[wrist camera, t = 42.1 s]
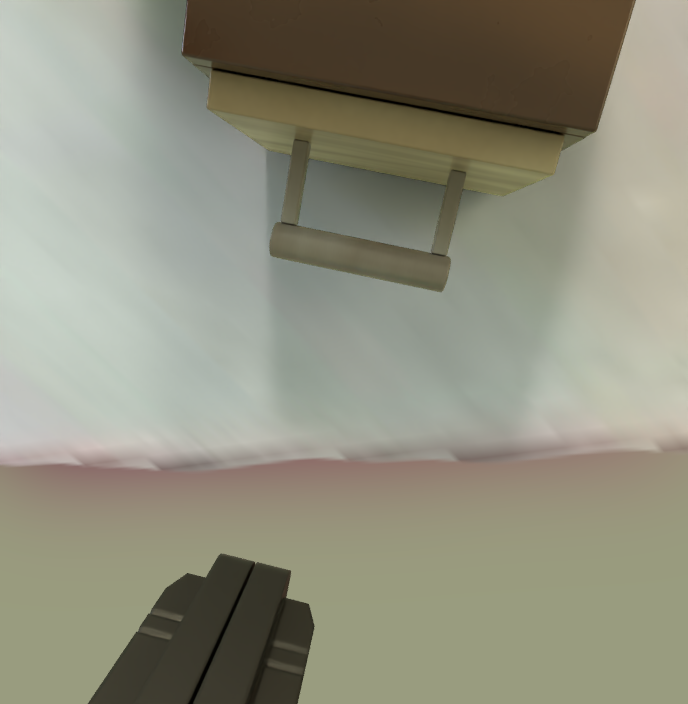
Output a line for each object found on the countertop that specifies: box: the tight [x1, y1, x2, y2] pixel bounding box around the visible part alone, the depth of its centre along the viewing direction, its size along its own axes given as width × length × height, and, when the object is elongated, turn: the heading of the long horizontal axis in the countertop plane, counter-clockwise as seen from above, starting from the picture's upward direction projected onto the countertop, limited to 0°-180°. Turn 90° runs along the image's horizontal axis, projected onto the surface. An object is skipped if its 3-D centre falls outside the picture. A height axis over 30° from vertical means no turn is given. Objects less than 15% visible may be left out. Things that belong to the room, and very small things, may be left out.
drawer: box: [206, 70, 564, 292], centre depth 18 cm, size 18×11×8 cm, turn 169°
